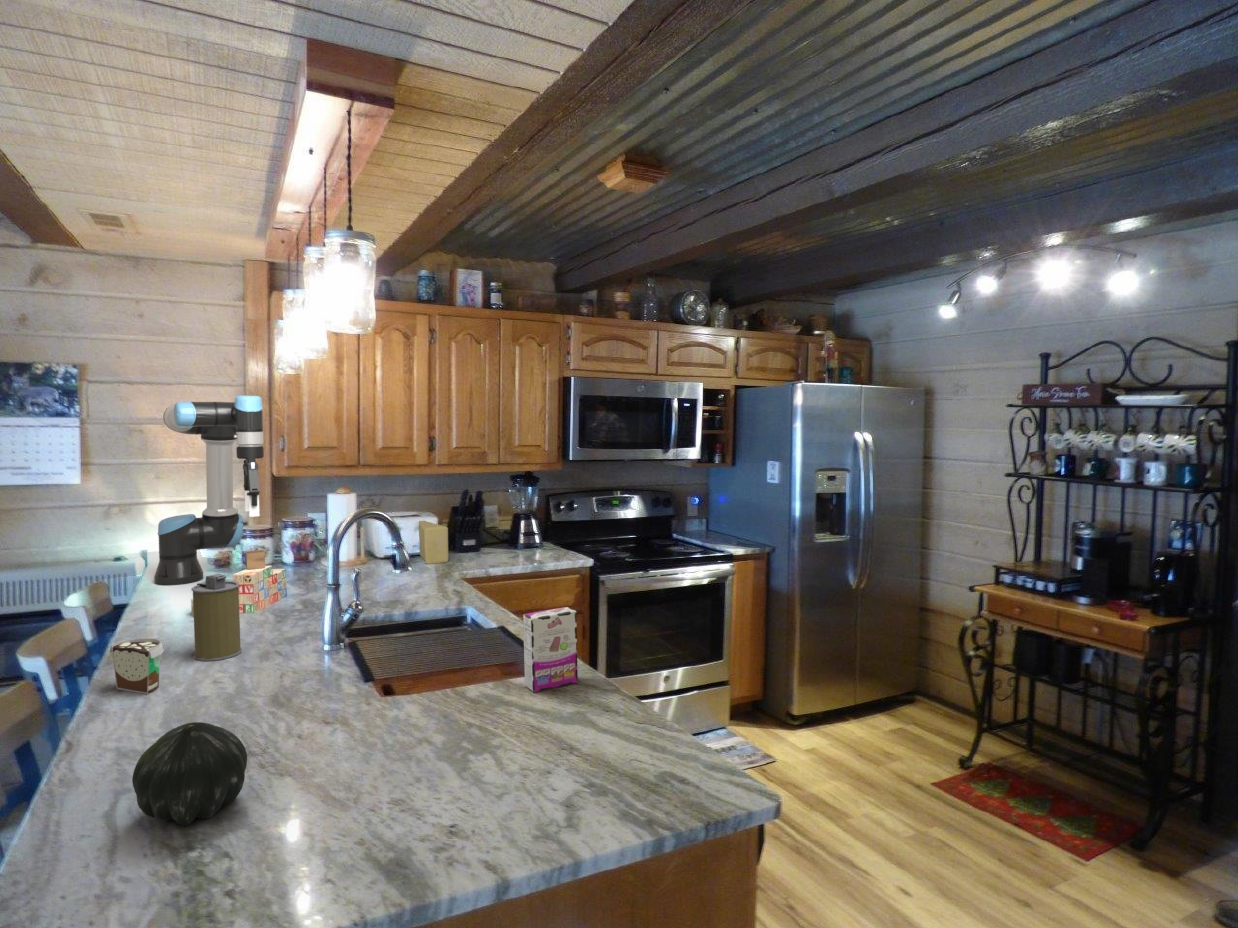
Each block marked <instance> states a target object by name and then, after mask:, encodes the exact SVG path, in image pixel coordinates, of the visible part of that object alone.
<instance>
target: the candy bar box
mask: <svg viewBox="0 0 1238 928" xmlns="http://www.w3.org/2000/svg"><path fill="white" fill-rule="evenodd" d="M577 616H578V615H577V611H576V610H575V609H573V608H571V607H569V606H564V607H557V608H551V609H546V610H540V611H534V612H529V613H524V614H522V618H523V619H522V621H523V623H522V624H523V652H524V653H523V658H524V659H523V660H524V661H523V663H524V665H523V666H524V686H525V688H527V689H528V690H530V691H531V692H533V693H538V692H542V691H546V690H551V689H555V688H560V687H564V686H569V685H572V684H577V683H578V682H579V681H578V680H579V679H578V676H579V675H578V673H579V671H578V669H579V668H578V630H577V629H578V628H577V627H578V626H577V625H578V624H577V623H578V622H577V621H578V620H577Z"/></svg>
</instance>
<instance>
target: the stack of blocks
mask: <svg viewBox="0 0 1238 928" xmlns="http://www.w3.org/2000/svg"><path fill="white" fill-rule="evenodd" d="M286 572H287V570H286V568H273V565H265V568H261V569H251V570H247V568H245V569H243V570H240V571H238V572H236V573H233V575H232V578H233V579H232V581H233V582H238V583H239V587H238V588H239V614H256V613H258V612H260V611H261V610H263V609H266V608H267V607H269V606H271V605H273V604H274V603H276V602H278V601H280V600H282V599H284V598H286V597H287V595H288V591H287V589H288V588H287V587H288V586H287V585H288V584H287V583H288V582H287V573H286Z"/></svg>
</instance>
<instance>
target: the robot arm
mask: <svg viewBox="0 0 1238 928" xmlns="http://www.w3.org/2000/svg"><path fill="white" fill-rule="evenodd" d="M263 408H264V406H263V400H262V398H261V396H260V395H236V396H235V398H234V401H232V402H231V401H228V402H227V401H188V400H187V401H178V402H175V403H174V404H171V405H169V406H168V407H167V408H166V409H165V410H164V412H163V415H162V417H163V423H164V425H166V427H167V428H168V429H170V430H171V431H173V432H176V433H180V434H183V435H184V434H185V435H200V440H201V441H203V442H204V443H205V461H206V462H205V465H206V466H205V469H206V471H205V472H206V474H205V477H206V478H205V479H206V482H205V483H206V508H205V509H204V510H202V512H201V514H202V515H201V517H196V515H195V514H193V513H187V514H180V515H179V514H178V515H174V516H170V517H166V518H162V519H161V520H160V521H159V522H158V523H157V524H158V527H157V536H158V559H159V561H158V565H157V568H156V571H155V573H154V575H153V577H154V578H153V579H154V584H156V585H162V586H169V585H170V586H172V585H182V584H183V585H184V584H189V583H195V582H198V581H201V580H203V579H204V572H203V571H204V570H203V569H202V566H201V564H200V562H199V559H198V554H197V553H198V552H197V551H198V550H207V549H209V550H210V549H216V548H217V549H218V548H219V549H220V548H229V547H234V546H236V545H239V544H240V542H241V540H242V537H243V532H244V518H243V516H242V515H241V514H239V513H238V509H236V508H235V507H234V464H233V463H234V462H233V461H234V453H233V452H234V451H233V445H234V443H235V442H236V443H235V444H236V445H238V446H237V447H235V448H236V458H237V459H239V460H240V459H241V460H243V464H242V469H243V490H244V492H243V493H244V512H248V514H249V517H250V518H253V517H254V518H255V517H260V516H261V515H260V493H261V491H260V485H259V484H260V481H259V463H258V461H256V459H263V458H264V456H265V455H264V446H263V445H264V431H263V427H264V425H263V424H264V423H263V420H264V419H263Z"/></svg>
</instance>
